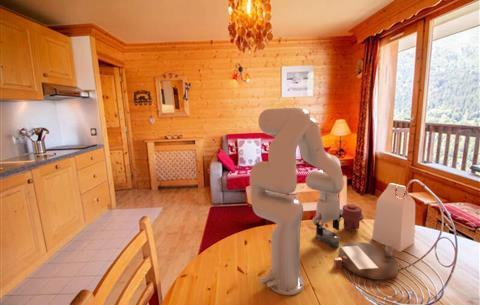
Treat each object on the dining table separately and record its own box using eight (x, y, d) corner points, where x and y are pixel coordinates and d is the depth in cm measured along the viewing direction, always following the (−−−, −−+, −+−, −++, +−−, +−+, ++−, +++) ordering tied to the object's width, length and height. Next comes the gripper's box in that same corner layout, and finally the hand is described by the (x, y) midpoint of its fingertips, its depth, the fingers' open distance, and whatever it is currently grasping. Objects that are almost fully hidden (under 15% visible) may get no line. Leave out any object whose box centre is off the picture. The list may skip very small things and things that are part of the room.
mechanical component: (359, 225, 123) (365, 235, 113) (338, 224, 125) (342, 234, 115) (360, 202, 121) (366, 210, 111) (339, 201, 123) (343, 209, 113)
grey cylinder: (334, 249, 103) (334, 239, 103) (314, 236, 114) (314, 227, 113) (341, 246, 105) (341, 237, 104) (320, 234, 116) (320, 225, 115)
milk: (371, 239, 110) (375, 183, 106) (386, 231, 116) (390, 179, 111) (400, 251, 100) (405, 191, 95) (414, 243, 106) (420, 185, 101)
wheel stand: (350, 279, 85) (351, 270, 85) (332, 266, 92) (333, 258, 92) (379, 265, 92) (379, 257, 91) (360, 254, 99) (360, 246, 98)
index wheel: (337, 271, 88) (338, 254, 87) (339, 242, 106) (340, 228, 105) (402, 285, 80) (404, 267, 79) (393, 252, 98) (394, 237, 97)
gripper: (336, 189, 113) (335, 223, 116) (307, 197, 105) (307, 233, 109) (349, 194, 106) (348, 230, 110) (319, 203, 99) (319, 241, 102)
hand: (327, 231), depth 109 cm, fingers open, 9 cm apart
